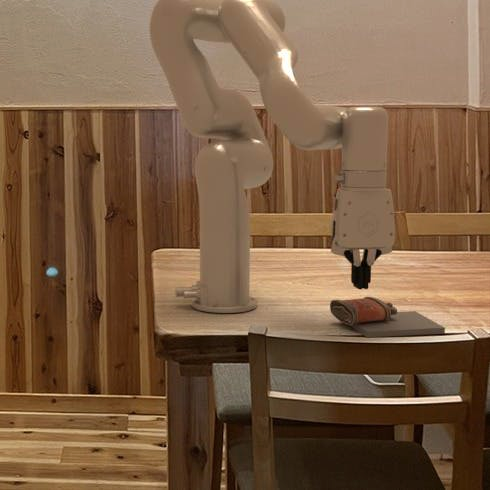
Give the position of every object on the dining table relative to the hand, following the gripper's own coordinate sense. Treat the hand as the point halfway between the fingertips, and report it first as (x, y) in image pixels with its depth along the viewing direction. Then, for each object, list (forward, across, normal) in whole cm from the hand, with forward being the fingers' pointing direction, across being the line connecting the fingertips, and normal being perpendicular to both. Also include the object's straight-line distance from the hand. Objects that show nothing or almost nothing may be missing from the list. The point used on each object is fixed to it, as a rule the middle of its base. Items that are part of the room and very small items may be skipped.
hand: (360, 287), depth 138 cm
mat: (+7, +6, 0) cm, 9 cm away
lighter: (+4, -3, +1) cm, 6 cm away
